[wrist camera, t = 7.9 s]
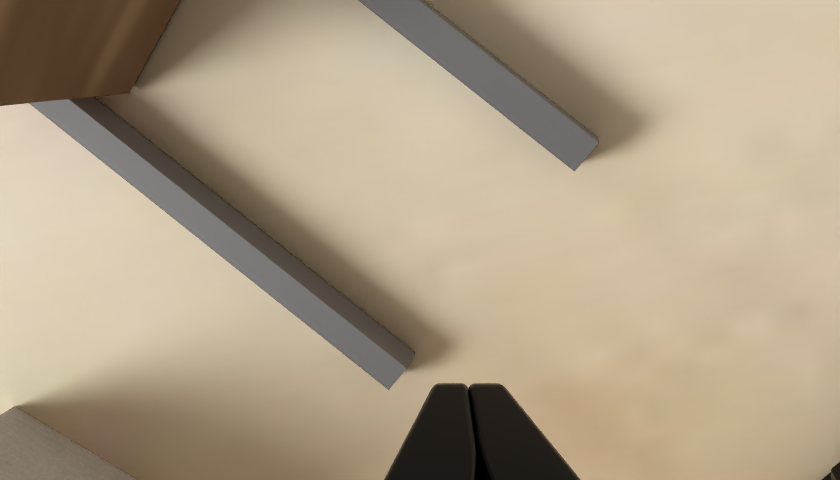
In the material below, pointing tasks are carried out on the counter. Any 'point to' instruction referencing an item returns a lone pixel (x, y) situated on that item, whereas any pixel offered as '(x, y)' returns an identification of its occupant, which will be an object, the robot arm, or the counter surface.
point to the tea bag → (46, 453)
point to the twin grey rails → (260, 253)
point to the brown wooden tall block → (76, 46)
